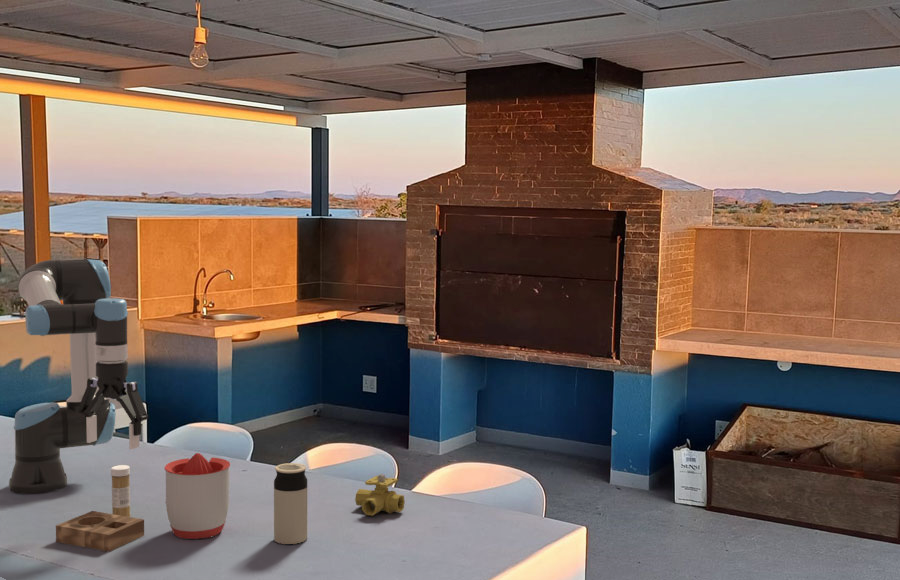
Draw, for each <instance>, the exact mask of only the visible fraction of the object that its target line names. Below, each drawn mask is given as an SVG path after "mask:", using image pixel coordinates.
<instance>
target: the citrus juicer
mask: <svg viewBox="0 0 900 580" xmlns="http://www.w3.org/2000/svg"><path fill="white" fill-rule="evenodd" d="M230 466H231V462H230V461H229V460H226V459H223V458H220V457H211V458H210V459H209V461H208V460H207V458H206V457H204V456H203V455H202V454H201V453H199V452H196V453H195V454H194V455H193V456H192V457H190V458H181V459H176V460H173V461H171V462H169V463H167V464H166V465H164V471H165V504H166V505H165V506H166V513H167V517H168V518H167V519H168V521H169V526H170V528H171V531H172V533H173V535H174V536H176V537H178V538H179V537H180V538H179V539H182V538H184V539H187V540H188V539H190V540H193V539H195V540H196V539H197V540H198V539H207V538H212V537H211V536H213V537H215V536H216V535H218V534H220V533H221V532H222V530H223V529H224V526H225V524H226V521H227V520H226V519H227V516H228V512H229V505H230Z"/></svg>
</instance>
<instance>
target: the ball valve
mask: <svg viewBox="0 0 900 580" xmlns="http://www.w3.org/2000/svg"><path fill="white" fill-rule="evenodd" d="M398 481H399V479H398V478H396V477H386V474H384V473H379V474H378V475H376V476H374V477H372V478H370V479H368V480H366V481H365V486H375V487H374V489H373V490H372V489H366V488H365V489H364V488H359V489H357V492H356V494H355V499H354V500H355V504H356V506H360V507H361V510H362V511H363V513H364V514H365V515H366V516H371V517H372V516H375V515H377V514H378V513H379V512H385V513H388V514H392V513H394V512H397V513H401V512H402V511H403V510H404V506H405V502H406V501H405V495H404V494H403V495H402V494H399V493H397V492H396V491H395V490H389V487H390V486H392V485H394V484H396V483H398Z"/></svg>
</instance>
